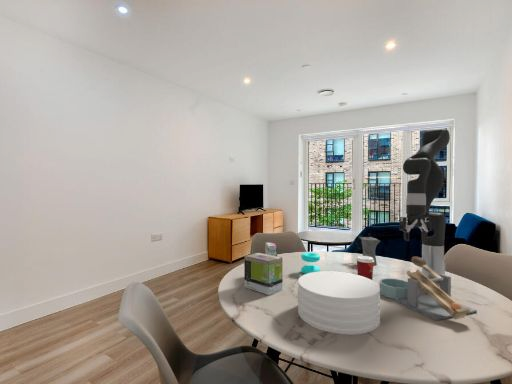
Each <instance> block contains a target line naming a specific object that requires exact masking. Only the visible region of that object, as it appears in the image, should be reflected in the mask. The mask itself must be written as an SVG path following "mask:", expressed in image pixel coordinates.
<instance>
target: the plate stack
mask: <svg viewBox="0 0 512 384" xmlns="http://www.w3.org/2000/svg"><path fill="white" fill-rule="evenodd" d="M297 281H298V282H297V285H298V287H297V299H298V300H297V306H298V307H297V313H298V316H299V317H300V319H301V320H302V321H304V323H306V324H308V325H310V326H312V327H313V328H316V329H318V330H321V331H325V332H329V333H333V334H338V335H339V334H340V335H360V334H365V333H369V332H372V331H374V330H376V329H377V328H378V327H379V325H380V321H381V320H380V316H381V310H380V309H381V303H380V301H381V293H380V287H379V284H378V283H377V282H376V281H374V280H373V279H372V280H371V279H368V278H366V277H363V276H360V275H358V274H354V273H350V272H344V271H336V270H335V271H331V270H324V271H323V270H322V271H321V270H320V271H319V272H312V273H308V274H303V275H301V276H300V277H299V278H298V280H297Z"/></svg>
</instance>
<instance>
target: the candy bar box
mask: <svg viewBox="0 0 512 384" xmlns="http://www.w3.org/2000/svg"><path fill="white" fill-rule="evenodd" d="M264 247H265V249H264V251H265V252H264V254H268V255H273V256H278V246H277V245H276V243H275V242H271V241H269V242H265V245H264Z"/></svg>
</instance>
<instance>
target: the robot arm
mask: <svg viewBox="0 0 512 384" xmlns="http://www.w3.org/2000/svg"><path fill="white" fill-rule="evenodd" d="M450 136H451V135H450V132H449V130H448V129H447V128H437V129H428V130H425V131H424V132H423V134H422V139H421V140H422V143H421V145H422V146H421V147H420V148H419V149H418V150H417V151H416V153H415V154H413V155H411V156H409V157H408V158H406V160H405V161H404V163H403V165H402V171H403V172H404V173H405V175H406V174H407V175H409V176H411V175H418V177H417V178H415V179H411V180H408V181H407V190H406V193H407V194H406V203H405V206H406V207H405V211H406V212H405V214H406V216H400V217H399V227H398V228H399V229H398V230H399V231H402V232H403V239H404V241H406V242H409V241H410V232H411V229H414V228H419V229H420V231H421V236H420V241H421V258H422V259H423V260H425V261H426V265H427V266H428V267H429V268H431V269H432V270H433V271H434V272H436V273H437V274H438V275H439V276H440V274H444V275H446V260H445V236H446V235H445V233H446V215H444V213H441V212H433V211H432V212H430V208H431V205H432V203H433V201H434V200H435V198H436V197H437V196H438V195H439V194H440V192H441V191H442V189H443V187H444V171H443V169H442V168H441V167H440V166H439V163H438V162H436V160H435V156H436V155H437V154H438V153H439V152H441V151H442V150H443V149H445V148H446V147H447V146H448V144H449V143H450V138H451V137H450ZM431 231H432V232H433V233H434V234H432V235H430V236H428V232H431ZM421 272H422V273H423V274H424V275H425V276H427V277H428V278H429V279H435V278H434V277H433V276H432V275H430V274H429V273H428V272H427V271H426V270H425V269H423V268H422V267H421Z"/></svg>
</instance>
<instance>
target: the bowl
mask: <svg viewBox="0 0 512 384" xmlns="http://www.w3.org/2000/svg"><path fill="white" fill-rule="evenodd" d="M378 285H379V287H380V295H382V296H384V297H387V298H390V299H395V300H397V299H402V298H407V296H408V281H406V280H403V279H398V278H390V277H389V278H388V277H386V278H382V279H380V280H379V284H378Z"/></svg>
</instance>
